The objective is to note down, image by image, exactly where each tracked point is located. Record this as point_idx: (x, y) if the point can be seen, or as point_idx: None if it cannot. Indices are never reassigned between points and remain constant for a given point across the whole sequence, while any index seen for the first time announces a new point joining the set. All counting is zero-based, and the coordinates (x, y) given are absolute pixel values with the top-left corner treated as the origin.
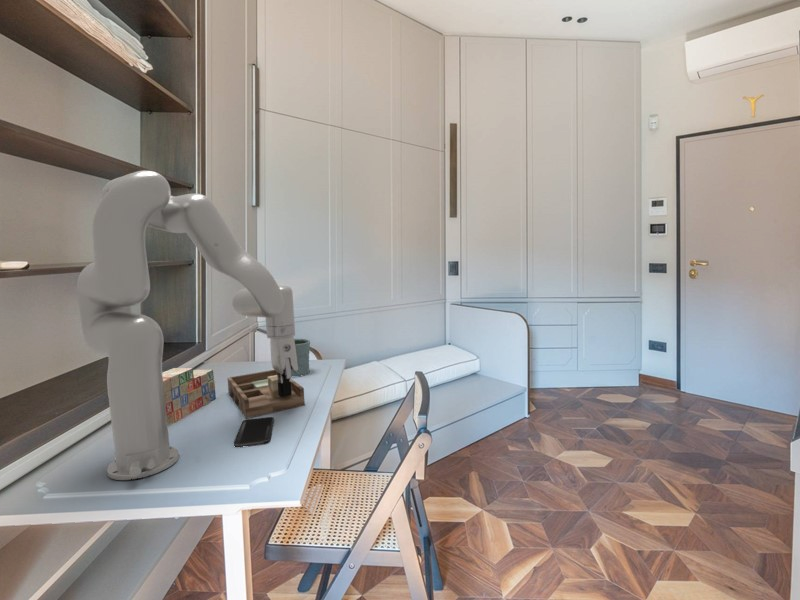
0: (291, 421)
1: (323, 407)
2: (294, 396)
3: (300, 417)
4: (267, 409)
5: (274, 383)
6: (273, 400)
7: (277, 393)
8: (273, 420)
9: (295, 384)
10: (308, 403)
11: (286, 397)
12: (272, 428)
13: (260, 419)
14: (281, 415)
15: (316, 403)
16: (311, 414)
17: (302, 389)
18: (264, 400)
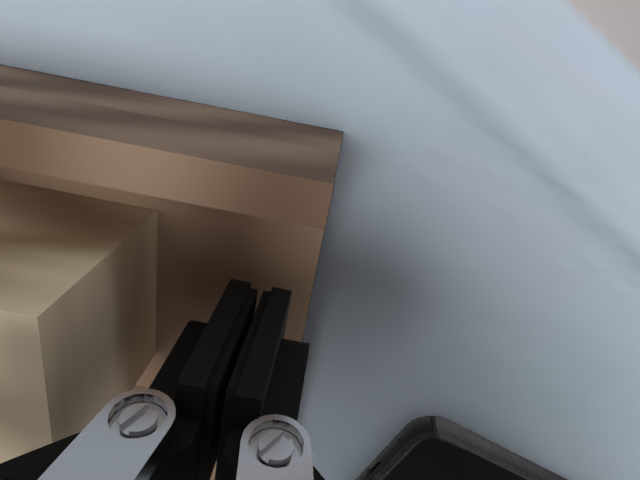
0: (563, 366)
1: (556, 27)
2: (251, 217)
3: (560, 295)
4: None
5: None
6: None
7: (141, 344)
8: (488, 453)
9: (87, 173)
10: (323, 76)
11: (226, 282)
12: (557, 477)
13: (391, 476)
14: (399, 355)
15: (389, 13)
16: (593, 209)
17: (329, 194)
18: None
